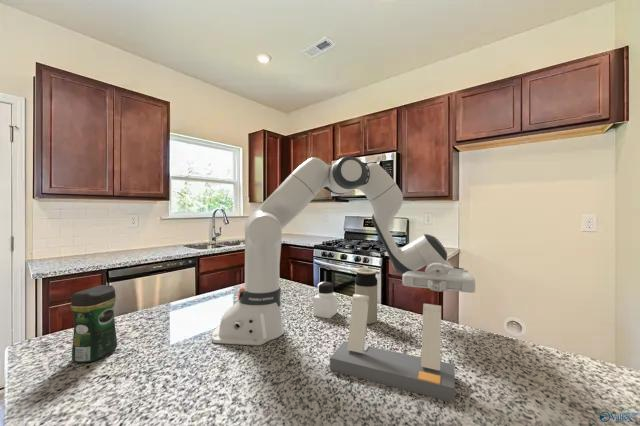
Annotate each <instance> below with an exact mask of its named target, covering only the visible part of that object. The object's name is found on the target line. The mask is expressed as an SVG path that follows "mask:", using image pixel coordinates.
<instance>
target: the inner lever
mask: <svg viewBox="0 0 640 426" xmlns="http://www.w3.org/2000/svg"><path fill="white" fill-rule="evenodd" d="M368 303H369V296H365V295H357V294H355V293H353V294H352V303H351V311H350V312H351V313H350V322H349V328H348V329H349V331H348V341H347V342H348V347H347V350H351V351H355V352H360V353H364V347H365V344H366V335H367V325H368V324H367V314H368Z"/></svg>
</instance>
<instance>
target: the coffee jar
mask: <svg viewBox="0 0 640 426" xmlns="http://www.w3.org/2000/svg"><path fill="white" fill-rule="evenodd" d="M116 300H117V296H116V289H115V287H114V286H113V285H109V284H108V285H107V284H100V285H97V286H96V285H95V286H93V287H90V288H86V289H84V290H80V291H76V292H74V293H73V294H72V295H71V303H70V308H71V311H72V314H73V319H74V321H73V336H72V337H73V338H72V339H73V340H72V347H71V360H72V361H73V362H75V363H77V364H78V363H80V364H85V363H90V362H95V361H98V360H100V359H102V358H103V357H105V356H107V355H108V354H110V353H111V352H113V351H114V350H116V349H117V347H118V339H117V331H116V322H115V303H116Z"/></svg>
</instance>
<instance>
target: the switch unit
mask: <svg viewBox="0 0 640 426" xmlns="http://www.w3.org/2000/svg"><path fill="white" fill-rule="evenodd" d="M347 347H348V341H345V340H344V341H342V343H341V344H340V345H339V346H338V348H337V349H336V350H335V351H334V352H333V353H332V354H331V356H330V357H329V370H330V371H332V372H336V373H341V374H344V375H348V376H352V377H356V378H359V379H364V380H367V381H370V382H374V383H379V384H381V385H386V386H390V387H393V388H397V389H400V390H404V391H408V392H412V393H416V394H420V395H424V396H427V397H431V398H434V399H439V400H443V401H446V402H449V403H453V404H455V402H456V399H455V397H456V388H455V387H456V384H455V383H456V382H455V381H456V378H455V375H456V374H455V373H456V372H455V371H456V370H455V368H456V365H455V364H456V363H455V364H454V363H450V362H445V361H441V360H440V370H435V369H431V368H426V367H422V366H421V356H416V355H412V354H408V353H402V352H397V351H394V350H389V349H384V348H379V347H374V346H370V345H369V344H366V343H365V347H364V353H360V352H355V351H351V350H347Z"/></svg>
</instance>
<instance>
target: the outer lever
mask: <svg viewBox="0 0 640 426" xmlns="http://www.w3.org/2000/svg"><path fill="white" fill-rule="evenodd" d="M421 327H422V331H421V332H422V333H421V356H420V357H421V366H422V367H426V368H431V369H435V370H440V361H441V352H442V351H441V349H442V348H441V347H442V346H441V345H442V344H441V342H442V334H441V333H442V305H437V304H431V303H423V304H422V326H421Z"/></svg>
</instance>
